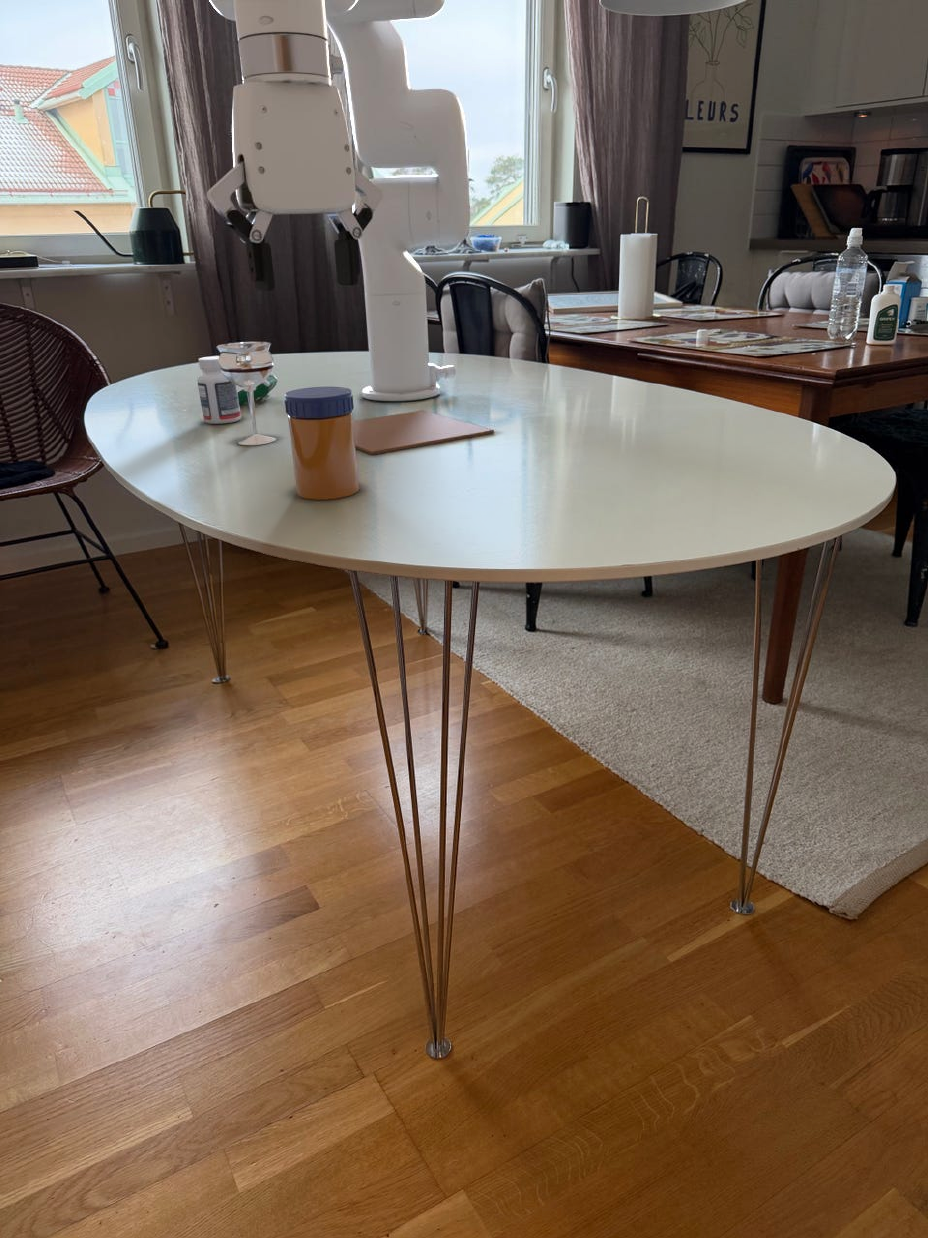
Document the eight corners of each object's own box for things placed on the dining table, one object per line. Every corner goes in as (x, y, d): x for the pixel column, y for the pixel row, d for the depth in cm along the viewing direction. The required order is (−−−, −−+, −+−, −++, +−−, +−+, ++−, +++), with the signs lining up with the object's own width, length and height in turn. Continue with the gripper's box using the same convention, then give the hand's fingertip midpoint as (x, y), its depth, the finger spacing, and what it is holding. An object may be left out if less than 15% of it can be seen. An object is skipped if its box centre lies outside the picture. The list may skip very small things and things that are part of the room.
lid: (335, 402, 90) (334, 383, 89) (365, 411, 84) (363, 392, 84) (276, 410, 86) (273, 391, 85) (303, 421, 81) (300, 400, 80)
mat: (422, 412, 125) (422, 410, 125) (494, 432, 111) (494, 429, 111) (309, 430, 116) (309, 427, 116) (372, 454, 103) (371, 451, 102)
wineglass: (264, 432, 116) (252, 340, 111) (293, 439, 112) (282, 343, 107) (220, 441, 112) (205, 346, 107) (247, 449, 107) (234, 349, 102)
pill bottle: (246, 416, 126) (237, 354, 123) (234, 424, 122) (224, 359, 118) (211, 417, 127) (202, 355, 123) (198, 424, 122) (188, 360, 119)
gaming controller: (248, 417, 135) (271, 389, 133) (228, 400, 134) (252, 372, 132) (261, 406, 143) (283, 380, 142) (243, 390, 142) (265, 363, 140)
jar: (342, 479, 93) (333, 389, 89) (369, 492, 88) (362, 397, 84) (287, 489, 90) (276, 396, 86) (312, 503, 85) (302, 405, 81)
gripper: (356, 80, 80) (370, 281, 88) (171, 68, 72) (204, 291, 79) (396, 67, 75) (407, 283, 82) (199, 52, 66) (232, 295, 73)
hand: (307, 286), depth 80 cm, fingers open, 7 cm apart
